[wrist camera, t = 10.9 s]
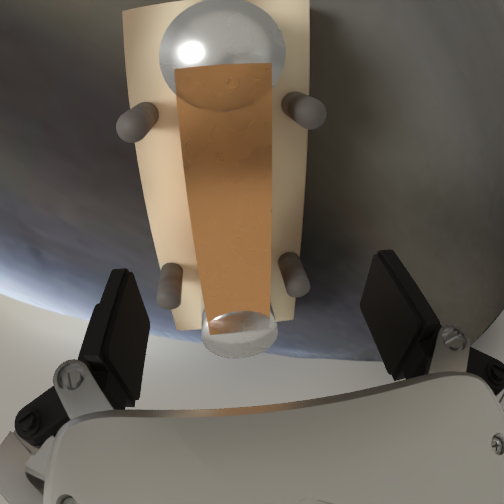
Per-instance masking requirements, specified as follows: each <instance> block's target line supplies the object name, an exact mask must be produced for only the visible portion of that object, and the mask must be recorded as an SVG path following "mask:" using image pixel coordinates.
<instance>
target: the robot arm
mask: <svg viewBox="0 0 504 504" xmlns="http://www.w3.org/2000/svg"><path fill="white" fill-rule="evenodd" d="M360 308H361V311H362V314H363V316H364V318H365V320H366V322H367V325H368V327H369V329H370V332H371V334H372V336H373V339H374V341H375V343H376V346H377V348H378V350H379V353H380V355H381V358H382V360H383V362H384V365H385V367H386V370H387V372H388V373H389V374H390V375H391V374H392V377H393V379H394V381H396V380H400V379H403V378H406V380H403V381H399V382H394V383H391V384H386V385H382V386H378V387H373V388H369V389H364V390H360V391H355V392H351V393H345V394H340V395H334V396H328V397H323V398H316V399H310V400H303V401H296V402H289V403H281V404H272V405H263V406H252V407H239V408H224V409H202V410H125V407H135V400H139V398H140V391H141V383H142V375H143V368H144V361H145V355H146V348H147V342H148V336H149V330H150V321H149V317H148V315H147V312H146V309H145V306H144V304H143V301H142V298H141V295H140V292H139V289H138V286H137V283H136V280H135V277H134V274H133V273H132V272H129V271H128V269H113V270H112V272H111V274H110V277H109V279H108V282H107V284H106V287H105V290H104V293H103V295H102V298H101V301H100V304H97V305H96V306H95V308H94V310H93V313H92V316H91V319H90V322H89V325H88V328H87V331H86V334H85V337H84V340H83V344H82V347H81V350H80V353H79V357H78V360H75V359H74V360H68V361H66V362H63V363H62V364H61V365H60V366H59V367H58V368H57V369H56V371H55V373H54V376H53V383H54V386H53V387H51V388H50V389H48V390H47V391H46V392H44V393H43V394H42V395H40V396H39V397H38V398H36V399H35V400H33V401H32V402H31V403H29V404H28V405H26V406H25V407H24V408H22V409H21V410H20V411H19V412H18V414H17V416H16V419H15V431H14V432H11V431H10V433H9V434H8V435H7V437H6V438H5V439H4V440H3V442H2V443H1V444H0V494H1V495H2V496H3V497H4V498H5V500H6V501H7V502H8V503H9V504H504V364H503V363H502V362H500V361H499V360H497V359H495V358H493V357H491V356H488V355H486V354H484V353H482V352H480V351H478V350H476V349H474V348H472V347H470V340H469V337H468V335H467V334H466V332H465V331H463V330H462V329H461V328H459V327H458V326H455V325H446V326H443V327H442V326H441V325H440V321H439V319H438V318H437V316H436V314H435V313H434V311H433V310H432V308H431V306H430V305H429V303H428V302H427V300H426V298H425V297H424V295H423V294H422V292H421V291H420V289H419V288H418V286H417V284H416V283H415V281H414V280H413V278H412V277H411V275H410V274H409V272H408V271H407V270H406V268H405V267H404V265H403V264H402V262H401V261H400V259H399V258H398V257H397V255H396V254H395V252H394V251H393V250H380V251H378V252H377V254H375V255H374V256H373V259H372V263H371V267H370V271H369V274H368V278H367V281H366V285H365V288H364V292H363V295H362V299H361V302H360Z"/></svg>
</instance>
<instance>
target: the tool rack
mask: <svg viewBox="0 0 504 504" xmlns="http://www.w3.org/2000/svg"><path fill="white" fill-rule="evenodd" d="M201 1H204V0H184V1H176V2H168V3H162V4H156V5H150V6H144V7H139V8H134V9H130V10H125V11H123V33H124V49H125V63H126V74H127V85H128V94H129V103H130V110H128V111H126V112H125V113H124V114H122V115H121V116H120V117H119V119H118V121H117V125H116V130H117V133H118V135H119V137H120V138H121V139H122V140H124V141H126V142H129V143H135V147H136V153H137V159H138V165H139V171H140V177H141V182H142V187H143V193H144V198H145V203H146V208H147V213H148V217H149V222H150V227H151V231H152V236H153V240H154V244H155V249H156V253H157V257H158V261H159V265H160V269H161V274H160V280H159V286H158V292H157V299H156V300H157V303H158V305H159V306H160V307H162V308H164V309H169V310H172V314H173V317H174V320H175V324H176V327H177V330H178V331H180V330H195V329H202V321H201V294H202V290H201V284H200V278H199V272H198V266H197V260H196V254H195V247H194V241H193V234H192V228H191V221H190V214H189V207H188V199H187V192H186V184H185V176H184V168H183V159H182V150H181V141H180V132H179V122H178V111H177V100H176V94H174V92H173V91H172V90H171V89H170V88H169V86H168V85H167V83H166V82H165V80H164V77H163V75H162V72H161V69H160V64H159V49H160V44H161V41H162V37H163V35H164V33H165V31H166V29H167V28H168V26H169V25H170V23H171V22H172V21H173V20H174V19H175V17H177V16H178V15H179V14H180V13H181V12H182V11H184V10H185V9H187V8H188V7H190V6H192V5H194V4H196V3H199V2H201ZM244 1H247V2H250V3H252V4H254V5H256V6H258V7H260V8H261V9H263V10H264V11H265V12H267V13H268V14H269V15H270V16H271V17H272V18H273V20H274V21H275V22H276V24H277V25H278V27H279V29H280V30H281V33H282V35H283V38H284V42H285V49H286V57H285V64H284V68H283V71H282V74H281V76H280V78H279V79H278V81H277V83H276V84H275V85H274V87H273V88H272V233H271V287H270V299H271V304H272V308H273V312H274V316H275V320H276V322H277V321H285V320H293V318H294V309H295V299H296V298H297V297H301V296H304V295H305V294H307V293H308V291H309V290H310V283H309V280H308V278H307V275H306V273H305V270H304V268H303V265H302V263H301V260H300V247H301V235H302V222H303V209H304V194H305V178H306V160H307V139H308V129H310V130H312V129H316V128H319V127H320V126H321V125H322V124H323V123H324V122H325V120H326V117H327V110H326V107H325V105H324V104H323V103H322V102H321V101H320V100H318V99H315V98H313V97H311V96H309V70H310V16H309V0H244Z"/></svg>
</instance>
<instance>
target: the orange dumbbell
mask: <svg viewBox="0 0 504 504" xmlns="http://www.w3.org/2000/svg"><path fill="white" fill-rule="evenodd" d="M285 57H286V49H285V42H284V38H283V35H282V33H281V30H280V29H279V27H278V25H277V24H276V22H275V21H274V20H273V18H272V17H271V16H270V15H269V14H268V13H267V12H265V11H264V10H263V9H261V8H260V7H258V6H256V5H254V4H252V3H250V2H247V1H244V0H204V1H201V2H199V3H196V4H194V5H192V6H190V7H188V8H187V9H185V10H184V11H182V12H181V13H180V14H179V15H178V16H177V17H175V19H174V20H173V21H172V22H171V23H170V25H169V26H168V28H167V29H166V31H165V33H164V35H163V37H162V41H161V44H160V49H159V64H160V69H161V72H162V75H163V77H164V80H165V82H166V83H167V85H168V86H169V88H170V89H171V90H172V91H173V92H174V94H176V100H177V111H178V122H179V132H180V141H181V150H182V159H183V168H184V176H185V184H186V192H187V199H188V207H189V214H190V221H191V228H192V234H193V241H194V247H195V254H196V260H197V266H198V272H199V278H200V284H201V290H202V294H201V321H202V341H203V344H204V346H205V347H206V348H207V349H208V350H209V351H210V352H212V353H214V354H216V355H218V356H221V357H226V358H246V357H250V356H254V355H257V354H259V353H261V352H263V351H265V350H267V349H268V348H269V347H270V346H271V345H272V344H273V343H274V342H275V340H276V338H277V335H278V328H277V324H276V320H275V316H274V312H273V308H272V304H271V299H270V287H271V233H272V88H273V87H274V85H275V84H276V83H277V81H278V79H279V78H280V76H281V74H282V71H283V68H284V64H285Z"/></svg>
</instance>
